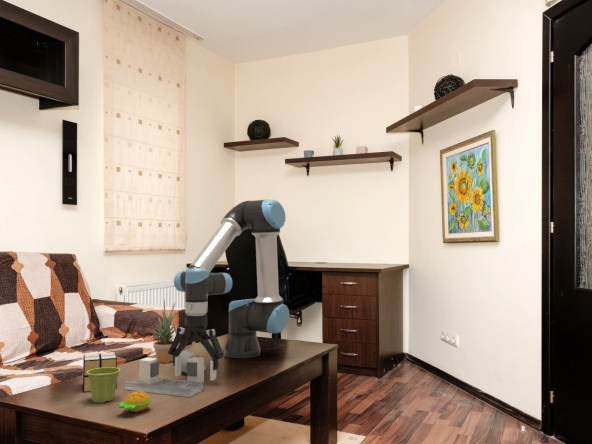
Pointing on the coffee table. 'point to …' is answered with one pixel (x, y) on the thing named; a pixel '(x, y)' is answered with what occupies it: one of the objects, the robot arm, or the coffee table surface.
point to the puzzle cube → (96, 365)
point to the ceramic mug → (184, 359)
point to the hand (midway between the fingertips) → (195, 377)
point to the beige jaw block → (195, 369)
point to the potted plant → (164, 337)
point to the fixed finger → (148, 370)
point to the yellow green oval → (136, 401)
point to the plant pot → (103, 383)
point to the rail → (167, 387)
